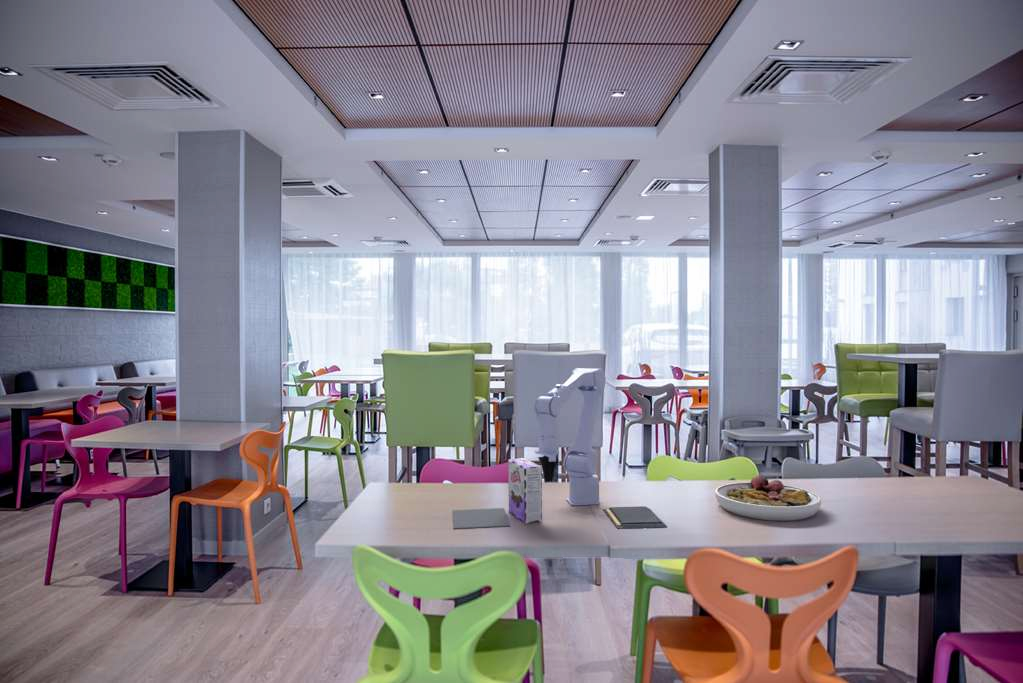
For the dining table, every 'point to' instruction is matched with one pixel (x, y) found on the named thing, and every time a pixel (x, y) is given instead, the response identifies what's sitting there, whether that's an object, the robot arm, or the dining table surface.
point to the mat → (480, 518)
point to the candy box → (525, 490)
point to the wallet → (633, 518)
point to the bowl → (768, 500)
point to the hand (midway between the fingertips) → (548, 480)
